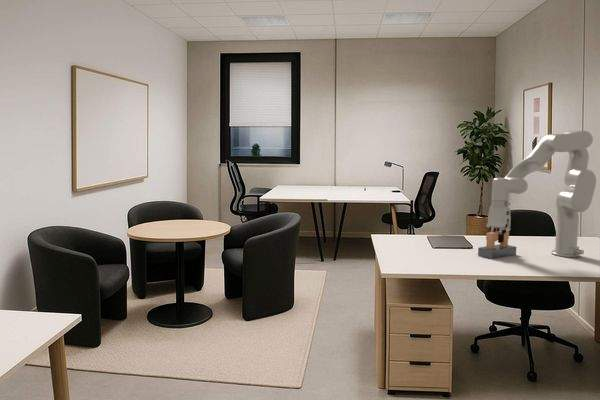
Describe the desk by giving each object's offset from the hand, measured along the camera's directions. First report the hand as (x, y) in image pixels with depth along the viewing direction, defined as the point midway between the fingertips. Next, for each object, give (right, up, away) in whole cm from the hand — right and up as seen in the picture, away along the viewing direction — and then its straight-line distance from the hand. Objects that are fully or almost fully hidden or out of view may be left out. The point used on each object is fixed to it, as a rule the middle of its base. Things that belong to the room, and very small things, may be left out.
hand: (497, 241), depth 270 cm
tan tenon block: (0, -4, 0) cm, 4 cm away
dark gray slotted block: (0, -7, +1) cm, 7 cm away
